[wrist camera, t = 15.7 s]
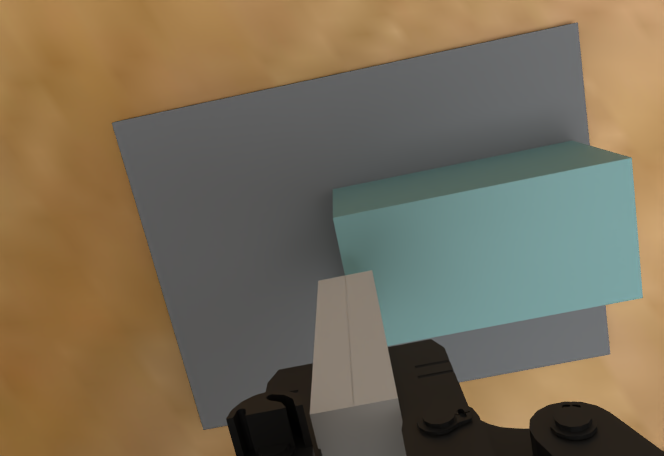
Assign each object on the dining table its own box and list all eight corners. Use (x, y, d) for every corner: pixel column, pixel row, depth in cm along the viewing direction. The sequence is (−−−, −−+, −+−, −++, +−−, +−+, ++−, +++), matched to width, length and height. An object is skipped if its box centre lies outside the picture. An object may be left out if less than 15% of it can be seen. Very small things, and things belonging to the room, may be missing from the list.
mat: (205, 424, 25) (203, 429, 25) (115, 121, 22) (111, 122, 22) (605, 349, 25) (610, 354, 24) (573, 23, 21) (577, 22, 21)
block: (361, 350, 19) (647, 296, 19) (332, 218, 18) (636, 156, 18) (355, 299, 24) (588, 254, 23) (332, 189, 22) (576, 139, 22)
